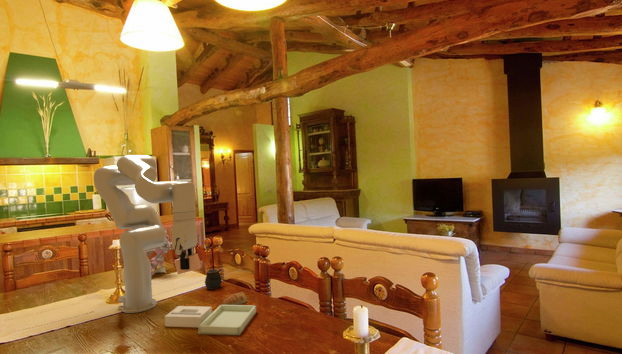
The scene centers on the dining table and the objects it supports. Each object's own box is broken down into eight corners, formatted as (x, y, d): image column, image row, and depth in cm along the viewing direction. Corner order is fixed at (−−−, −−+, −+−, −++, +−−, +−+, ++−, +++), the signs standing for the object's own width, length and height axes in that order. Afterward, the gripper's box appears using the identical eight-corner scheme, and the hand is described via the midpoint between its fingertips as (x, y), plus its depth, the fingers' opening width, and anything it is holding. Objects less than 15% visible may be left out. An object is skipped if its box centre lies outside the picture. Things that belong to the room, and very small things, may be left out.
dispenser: (165, 326, 119) (164, 315, 119) (178, 315, 128) (178, 305, 128) (200, 327, 117) (200, 316, 117) (211, 316, 126) (211, 305, 126)
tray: (198, 333, 113) (198, 326, 113) (220, 311, 130) (220, 304, 130) (239, 335, 111) (239, 327, 111) (256, 312, 128) (256, 305, 128)
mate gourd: (219, 284, 162) (218, 263, 162) (224, 288, 156) (223, 266, 156) (203, 287, 159) (202, 265, 158) (208, 292, 152) (207, 269, 152)
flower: (119, 273, 181) (120, 233, 172) (160, 259, 199) (164, 222, 189) (136, 296, 171) (139, 255, 161) (178, 279, 188) (183, 241, 179)
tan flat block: (198, 268, 120) (178, 274, 122) (201, 266, 123) (181, 272, 124) (194, 255, 120) (173, 260, 122) (197, 253, 123) (177, 259, 124)
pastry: (227, 309, 132) (227, 299, 132) (218, 305, 137) (218, 295, 137) (248, 302, 139) (248, 293, 139) (239, 298, 144) (238, 289, 143)
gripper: (186, 213, 130) (188, 262, 131) (161, 220, 115) (164, 275, 115) (204, 213, 129) (207, 262, 130) (183, 219, 113) (185, 275, 114)
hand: (187, 267), depth 122 cm, fingers closed on tan flat block, 2 cm apart
